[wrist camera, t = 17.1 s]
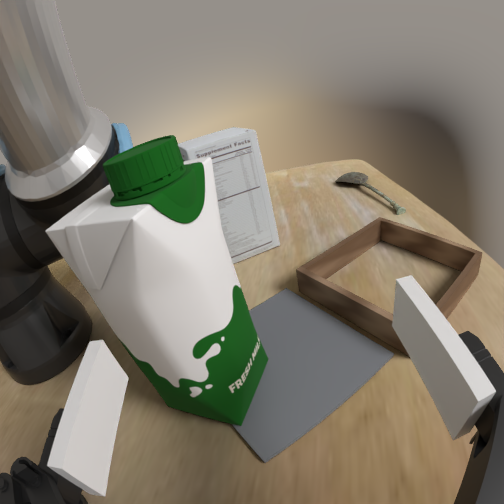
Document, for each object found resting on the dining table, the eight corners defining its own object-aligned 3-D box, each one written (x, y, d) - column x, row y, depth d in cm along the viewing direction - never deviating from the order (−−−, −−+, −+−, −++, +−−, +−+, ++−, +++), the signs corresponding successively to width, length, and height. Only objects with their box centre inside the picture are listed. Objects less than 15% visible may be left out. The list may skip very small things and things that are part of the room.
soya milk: (248, 438, 20) (111, 175, 10) (154, 411, 24) (17, 205, 14) (281, 352, 27) (214, 118, 17) (195, 341, 31) (110, 149, 21)
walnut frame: (299, 291, 35) (296, 269, 34) (380, 236, 42) (379, 217, 40) (413, 358, 23) (418, 335, 22) (477, 274, 30) (482, 252, 28)
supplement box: (257, 225, 53) (235, 126, 45) (282, 245, 45) (259, 128, 37) (203, 245, 51) (173, 143, 42) (219, 270, 43) (184, 149, 35)
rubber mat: (179, 354, 30) (178, 352, 30) (286, 290, 36) (286, 288, 36) (265, 462, 19) (264, 461, 19) (393, 355, 24) (393, 353, 24)
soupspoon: (359, 180, 66) (332, 187, 66) (356, 165, 64) (329, 172, 64) (417, 212, 46) (384, 222, 46) (416, 193, 45) (382, 202, 44)
